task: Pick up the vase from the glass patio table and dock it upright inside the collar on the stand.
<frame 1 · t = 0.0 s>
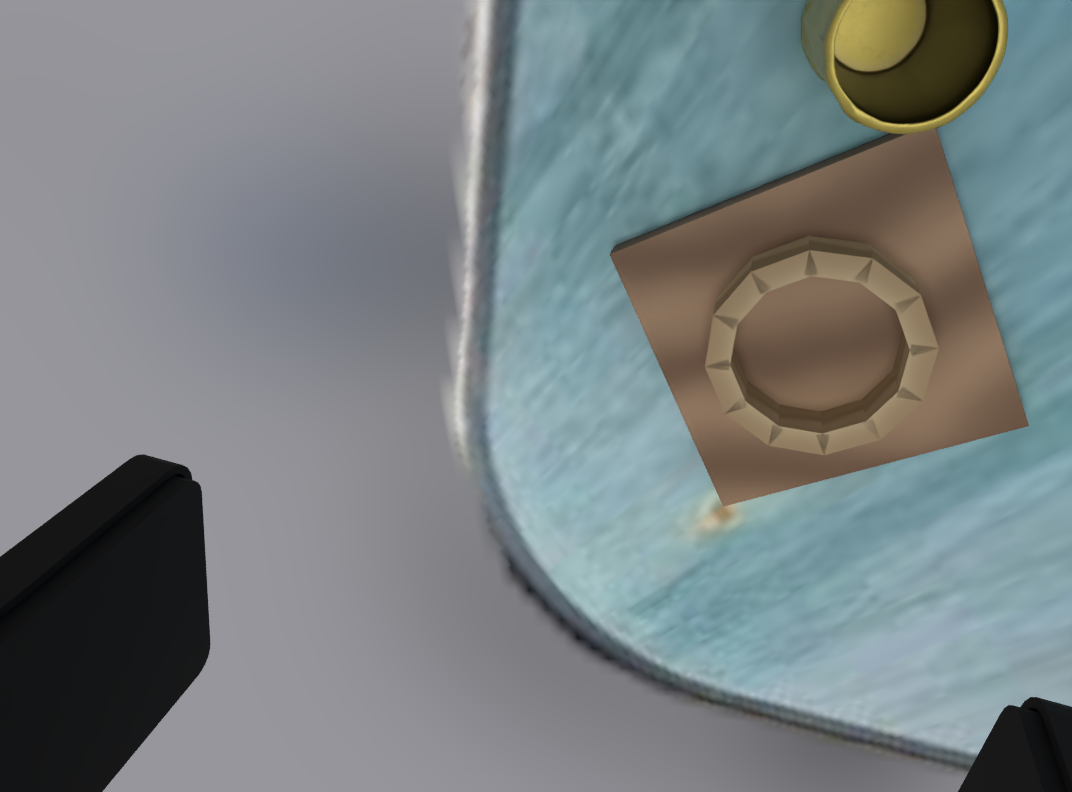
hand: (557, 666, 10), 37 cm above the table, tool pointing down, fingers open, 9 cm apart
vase: (872, 21, 39), on the table
stand: (814, 327, 46), on the table
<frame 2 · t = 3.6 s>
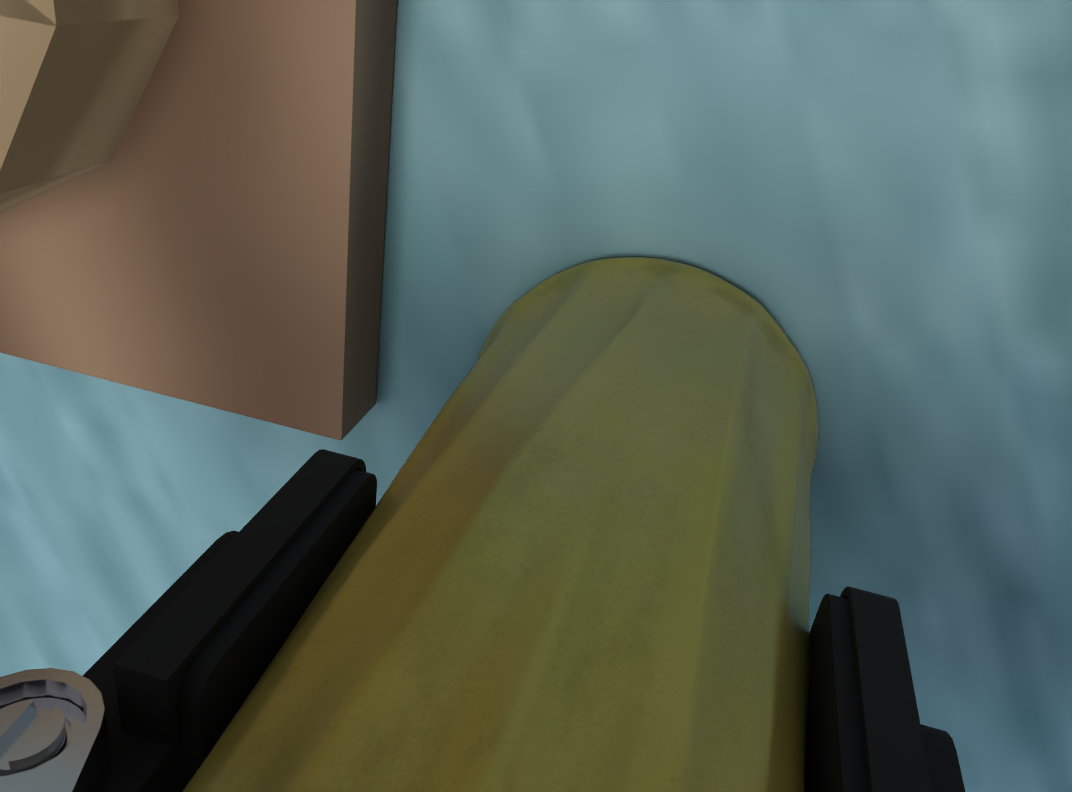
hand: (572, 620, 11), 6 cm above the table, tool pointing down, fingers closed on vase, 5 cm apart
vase: (640, 414, 16), on the table, touching gripper
when the fingers open (8 cm above the table, at t = 9.1 s): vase stays where it is, resting on stand.
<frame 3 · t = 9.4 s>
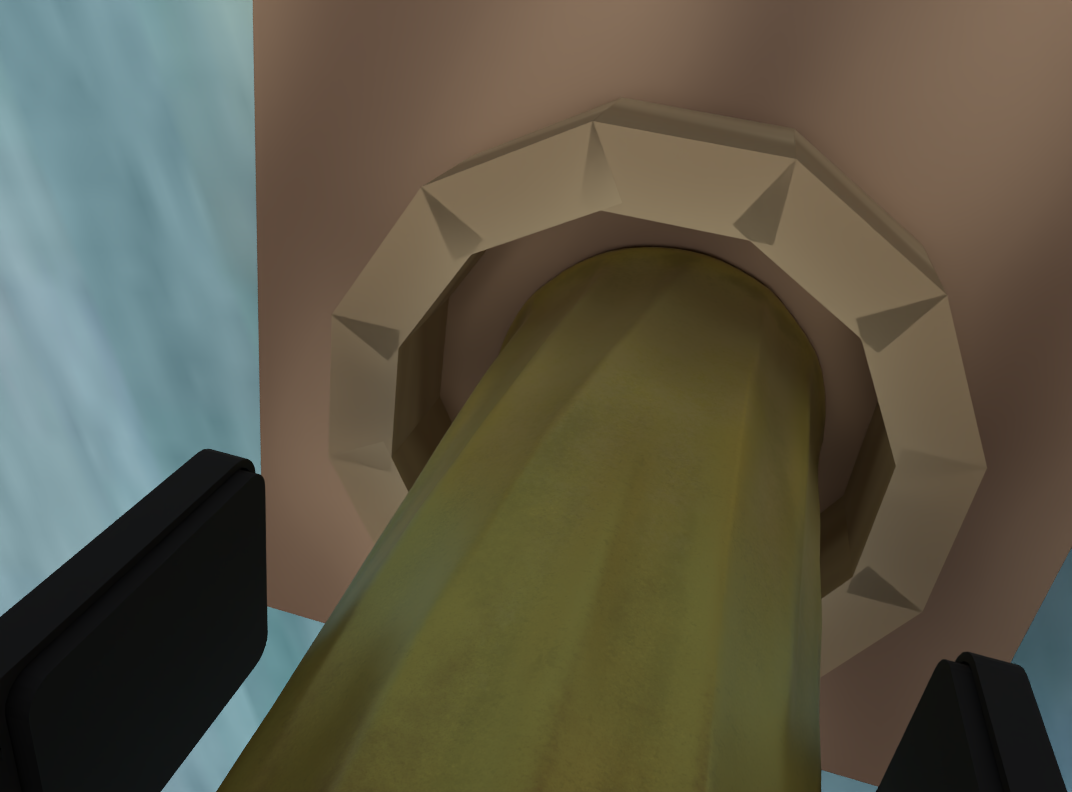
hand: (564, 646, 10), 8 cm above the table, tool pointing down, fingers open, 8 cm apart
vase: (656, 397, 17), point 1 cm above the table, touching stand
stand: (654, 364, 18), on the table
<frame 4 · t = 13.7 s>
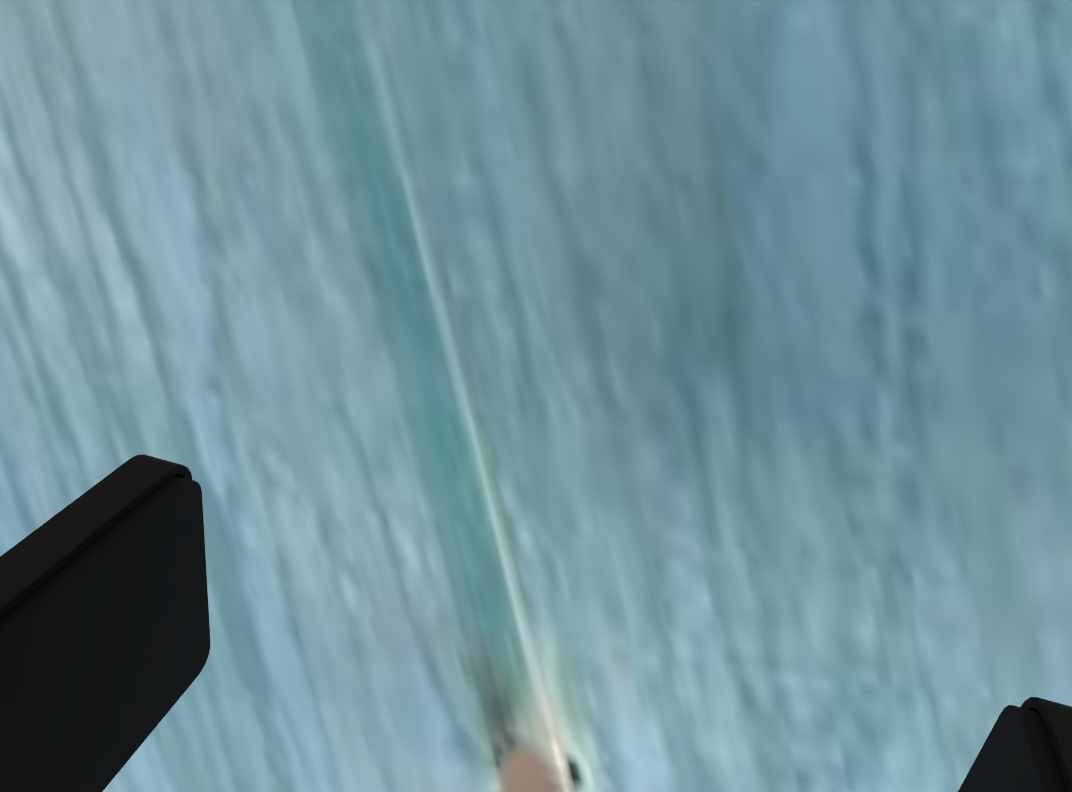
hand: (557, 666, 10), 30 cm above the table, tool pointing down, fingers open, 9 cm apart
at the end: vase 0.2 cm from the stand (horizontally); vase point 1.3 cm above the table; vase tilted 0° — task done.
